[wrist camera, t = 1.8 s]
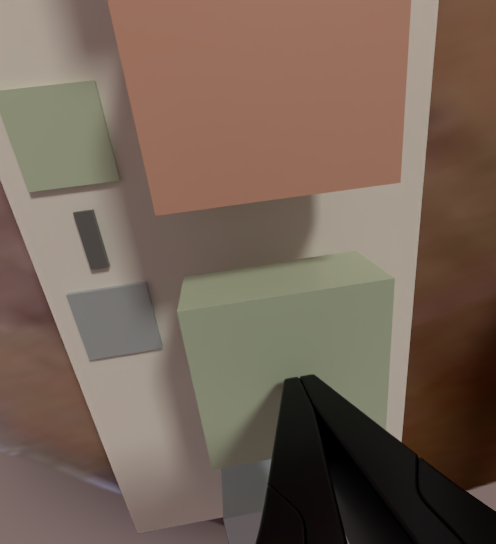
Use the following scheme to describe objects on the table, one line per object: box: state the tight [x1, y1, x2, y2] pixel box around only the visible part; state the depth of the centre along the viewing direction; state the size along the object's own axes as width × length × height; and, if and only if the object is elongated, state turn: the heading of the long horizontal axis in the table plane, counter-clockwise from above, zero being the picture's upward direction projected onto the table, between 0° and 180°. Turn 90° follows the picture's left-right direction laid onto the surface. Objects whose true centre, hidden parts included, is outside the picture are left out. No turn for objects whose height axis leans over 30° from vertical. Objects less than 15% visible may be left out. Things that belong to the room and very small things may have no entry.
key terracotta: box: [107, 0, 411, 216], centre depth 7 cm, size 6×6×2 cm
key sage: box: [177, 251, 395, 470], centre depth 10 cm, size 6×6×2 cm
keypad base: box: [0, 0, 439, 534], centre depth 13 cm, size 14×31×3 cm, turn 7°
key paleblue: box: [221, 459, 349, 544], centre depth 13 cm, size 6×6×2 cm
